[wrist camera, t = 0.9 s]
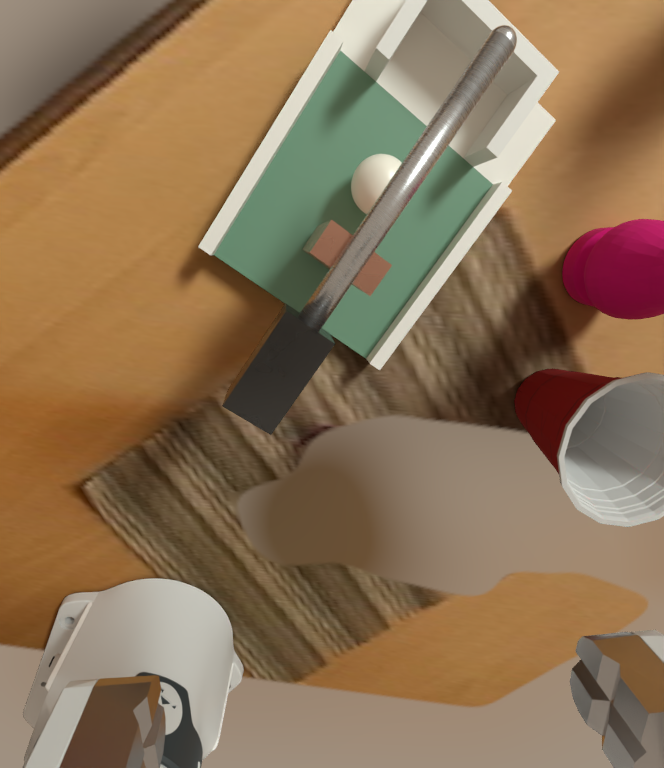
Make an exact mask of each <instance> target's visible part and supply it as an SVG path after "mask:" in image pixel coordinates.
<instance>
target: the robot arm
mask: <svg viewBox="0 0 664 768" xmlns="http://www.w3.org/2000/svg"><path fill="white" fill-rule="evenodd" d="M70 617H72V618H70ZM576 653H577V654H578V656H579V657H580V658H581V660H580V661H579V662H578V663H577V664H576V665H575V666H574V667H573V668H572V672H571V679H570V685H571V690H572V696H573V699H574V702H575V704H576V706H577V709H578V711H579V713H580V714H581V716H582V718H583V719H584V721H585V723H586V724H587V725H588V726H589V727H591V728H592V729H593V730H595V731H596V732H598V733H599V734H600V735H602V750H603V751H604V753H605V755H606V756H607V758H608V759H609V761H610V763H611V764H612V766H613V767H614V768H664V635H663V634H662V633H660V632H658V631H657V630H647V631H636V632H621V633H611V634H602V635H592V636H583V637H582V638H581V639H580V640H579V641H578V643H577V647H576ZM243 671H244V669H243V665H242V663H241V661H240V659H239V658H238V656H237V655H236V653H235V652H234V647H233V632H232V627H231V624H230V621H229V618H228V616H227V615H226V613H225V611H224V610H223V608H222V607H221V606H220V605H219V604H218V603H217V602H216V601H215V600H214V599H213V598H212V597H211V596H209V595H208V594H206V593H205V592H203V591H202V590H200V589H198V588H196V587H194V586H191V585H189V584H186V583H183V582H179V581H175V580H169V579H157V578H154V579H140V580H134V581H130V582H126V583H123V584H120V585H118V586H115V587H113V588H110V589H108V590H104V591H101V592H83V593H74V594H71V595H68V596H67V597H65V598H64V600H63V602H62V604H61V606H60V608H59V611H58V614H57V617H56V620H55V622H54V625H53V628H52V631H51V634H50V637H49V639H48V642H47V645H46V648H45V651H44V654H43V657H42V659H41V663H40V665H39V668H38V671H37V674H36V677H35V680H34V682H33V685H32V688H31V691H30V694H29V697H28V699H27V702H26V705H25V708H24V712H23V717H24V718H25V720H26V721H27V722H28V723H29V724H30V725H31V726H32V727H33V728H34V731H33V733H32V736H31V739H30V742H29V745H28V748H27V751H26V754H25V757H24V761H25V763H24V766H23V768H201V764H202V760H203V759H204V758H205V757H207V756H208V755H209V753H210V752H211V751H213V750H215V748H216V747H217V744H218V741H219V737H220V732H221V727H222V722H223V717H224V712H225V707H226V702H227V697H228V693H229V692H230V691H231V690H233V689H234V688H235V687H236V686H237V685H238V684H239V683H240V682H241V680H242V676H243Z"/></svg>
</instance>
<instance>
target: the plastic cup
mask: <svg viewBox="0 0 664 768" xmlns="http://www.w3.org/2000/svg"><path fill="white" fill-rule="evenodd" d="M514 403H515V412H516V414H517V417H518V418H519V420H520V422H521V423H522V425H523V426H524V428H525V429H526V430H527V431H528V433H529V434H530V436H531V437H532V439H533V440H534V442H535V443H536V445H537V446H538V447H539V448H540V450H541V451H542V452H543V454H544V455H545V456H546V457H547V459H548V460H549V461H550V463H551V464H552V465H553V466H554V467H555V469H556V470H557V472H558V474H559V476H560V483H561V485H562V487H563V488H564V490H565V491H566V493H567V495H568V496H569V498H570V499H571V501H572V502H573V504H574V506H575V507H576V509H577V510H579V511H580V512H582V513H584V514H585V515H587V516H589V517H590V518H592V519H594V520H595V521H597V522H599V523H601V524H609V525H618V526H626V527H630V526H634V525H638V524H642V523H646V522H650V521H654V520H658V519H660V518H661V517H663V516H664V375H661V374H655V373H641V374H637V375H633V376H629V377H625V378H619V377H616V378H612V377H605V376H599V375H593V374H587V373H580V372H574V371H565V370H559V369H545V370H541V371H537V372H535V373H534V374H532V375H531V376H529V377H528V378H526V379H525V380H524V382H523V383H522V384H521V386H520V387H519V388H518V390H517V394H516V397H515V400H514Z"/></svg>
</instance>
